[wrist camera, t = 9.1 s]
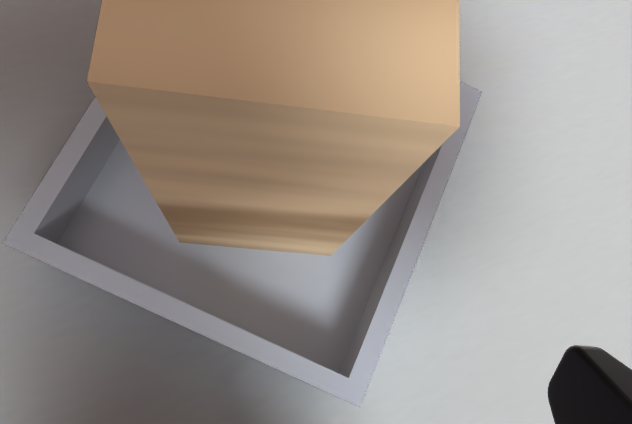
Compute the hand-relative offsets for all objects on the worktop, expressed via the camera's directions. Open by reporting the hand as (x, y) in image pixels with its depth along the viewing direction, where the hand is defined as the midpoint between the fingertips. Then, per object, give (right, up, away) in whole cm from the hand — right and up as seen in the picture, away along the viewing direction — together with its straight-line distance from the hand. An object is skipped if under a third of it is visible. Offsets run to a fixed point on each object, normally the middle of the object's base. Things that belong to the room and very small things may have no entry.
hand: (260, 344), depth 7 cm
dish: (-1, +3, +11) cm, 12 cm away
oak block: (-1, +3, +11) cm, 11 cm away
